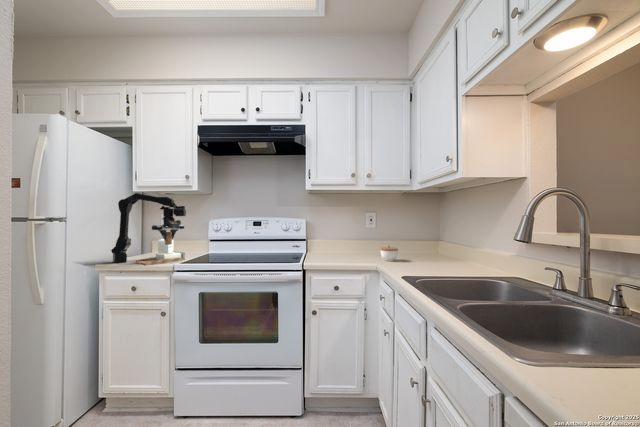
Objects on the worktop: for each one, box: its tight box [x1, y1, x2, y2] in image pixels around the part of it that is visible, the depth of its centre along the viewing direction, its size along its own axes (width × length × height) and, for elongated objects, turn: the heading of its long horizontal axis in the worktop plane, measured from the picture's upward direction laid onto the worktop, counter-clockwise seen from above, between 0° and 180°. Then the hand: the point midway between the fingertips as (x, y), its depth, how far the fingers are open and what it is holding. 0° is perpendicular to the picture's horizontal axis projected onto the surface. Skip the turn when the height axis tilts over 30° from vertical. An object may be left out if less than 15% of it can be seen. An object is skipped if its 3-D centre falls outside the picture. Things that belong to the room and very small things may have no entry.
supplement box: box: [157, 239, 174, 254], centre depth 214 cm, size 7×7×13 cm
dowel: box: [165, 231, 172, 245], centre depth 198 cm, size 4×4×8 cm
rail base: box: [135, 250, 186, 266], centre depth 194 cm, size 24×14×5 cm, turn 144°
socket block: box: [155, 252, 181, 260], centre depth 198 cm, size 11×11×3 cm
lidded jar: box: [379, 245, 399, 262], centre depth 193 cm, size 11×11×9 cm
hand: (168, 240), depth 198 cm, fingers closed on dowel, 4 cm apart
